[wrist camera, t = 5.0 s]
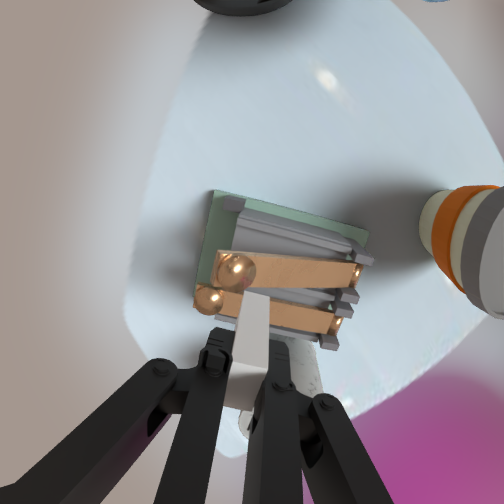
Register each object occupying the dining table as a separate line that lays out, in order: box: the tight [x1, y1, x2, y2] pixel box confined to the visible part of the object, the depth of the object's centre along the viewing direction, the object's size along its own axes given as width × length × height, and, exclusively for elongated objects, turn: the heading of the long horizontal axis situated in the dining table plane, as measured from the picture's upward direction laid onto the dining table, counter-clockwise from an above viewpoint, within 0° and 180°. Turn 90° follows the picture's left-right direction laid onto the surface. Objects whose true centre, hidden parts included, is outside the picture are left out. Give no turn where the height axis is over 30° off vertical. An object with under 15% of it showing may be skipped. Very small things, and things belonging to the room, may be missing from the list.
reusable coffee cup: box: [419, 185, 504, 319], centre depth 26 cm, size 13×13×15 cm
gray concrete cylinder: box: [238, 332, 324, 440], centre depth 33 cm, size 10×10×12 cm
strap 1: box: [210, 250, 364, 293], centre depth 25 cm, size 3×15×2 cm
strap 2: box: [193, 281, 344, 336], centre depth 29 cm, size 3×15×2 cm, turn 76°
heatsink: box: [193, 190, 374, 351], centre depth 31 cm, size 13×18×8 cm
